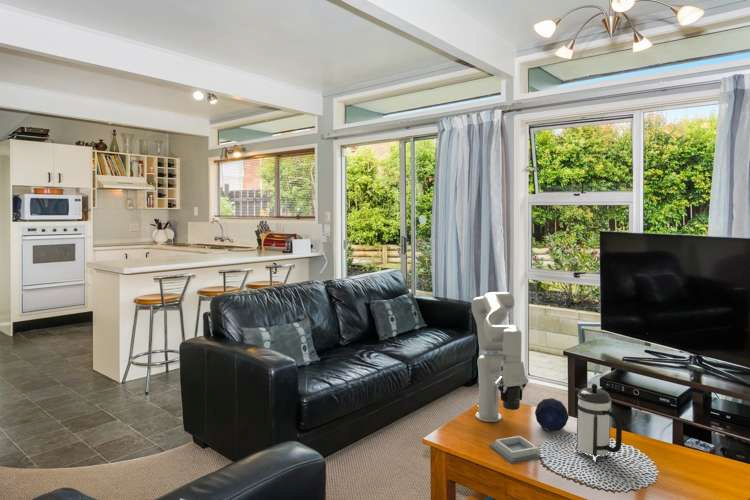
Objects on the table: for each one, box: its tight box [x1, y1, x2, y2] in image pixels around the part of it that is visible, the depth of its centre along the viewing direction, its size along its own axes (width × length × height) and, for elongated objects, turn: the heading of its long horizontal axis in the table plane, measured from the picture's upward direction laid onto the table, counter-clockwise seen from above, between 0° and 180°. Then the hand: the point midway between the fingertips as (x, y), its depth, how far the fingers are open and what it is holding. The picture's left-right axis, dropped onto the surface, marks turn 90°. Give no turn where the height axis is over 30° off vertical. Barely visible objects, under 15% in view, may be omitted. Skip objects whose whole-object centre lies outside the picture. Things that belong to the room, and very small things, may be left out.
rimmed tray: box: [488, 435, 541, 465], centre depth 210 cm, size 16×16×4 cm
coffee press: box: [575, 383, 623, 456], centre depth 206 cm, size 17×16×30 cm
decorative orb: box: [534, 397, 570, 432], centre depth 233 cm, size 14×15×15 cm
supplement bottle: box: [502, 386, 521, 411], centre depth 210 cm, size 7×7×12 cm
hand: (511, 399), depth 210 cm, fingers closed on supplement bottle, 6 cm apart
